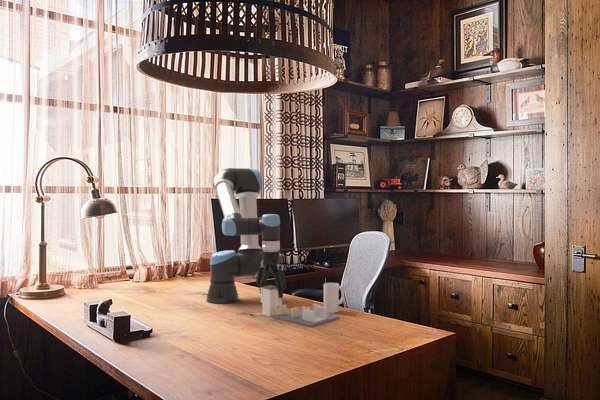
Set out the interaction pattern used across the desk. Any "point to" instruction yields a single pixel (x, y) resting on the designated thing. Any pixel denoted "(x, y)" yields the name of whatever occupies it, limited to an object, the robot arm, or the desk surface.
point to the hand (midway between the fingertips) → (271, 303)
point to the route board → (305, 315)
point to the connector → (269, 301)
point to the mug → (332, 297)
